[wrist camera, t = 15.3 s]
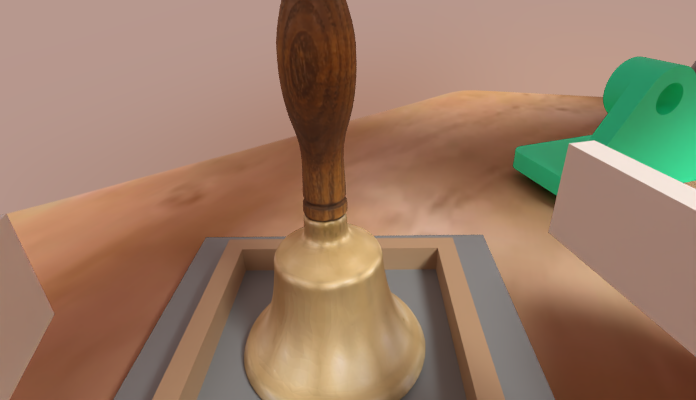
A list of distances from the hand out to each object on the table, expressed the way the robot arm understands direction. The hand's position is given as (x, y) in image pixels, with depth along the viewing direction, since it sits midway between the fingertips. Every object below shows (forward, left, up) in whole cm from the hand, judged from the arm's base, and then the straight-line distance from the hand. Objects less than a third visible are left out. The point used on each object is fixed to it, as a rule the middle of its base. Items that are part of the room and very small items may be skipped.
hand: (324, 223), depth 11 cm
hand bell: (0, -5, -10) cm, 11 cm away
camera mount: (-20, -24, -11) cm, 33 cm away
